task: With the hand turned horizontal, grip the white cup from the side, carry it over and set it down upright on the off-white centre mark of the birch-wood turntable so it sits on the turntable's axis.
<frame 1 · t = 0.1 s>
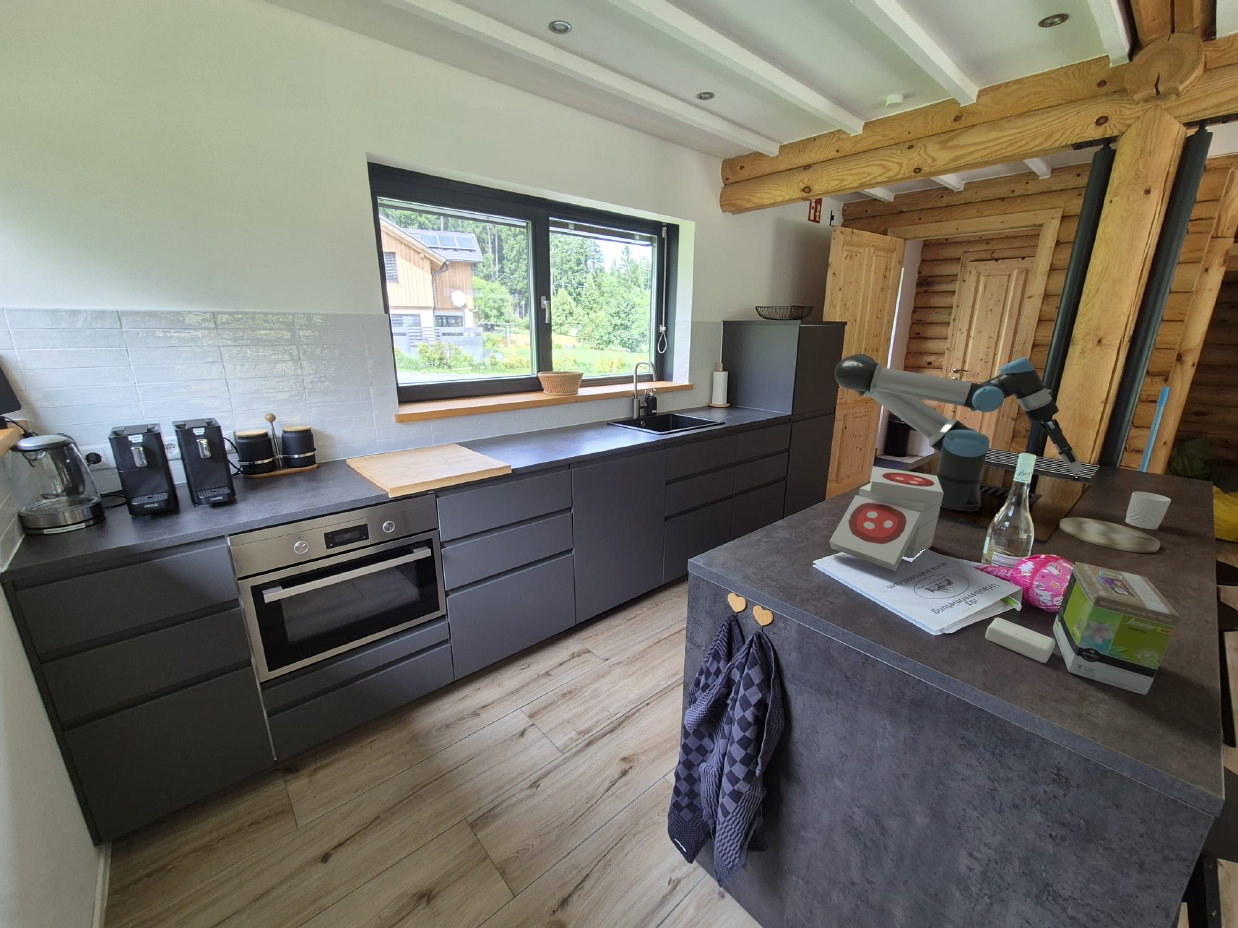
hand: (1074, 466, 152), 15 cm above the countertop, tool tilted 35°, fingers open, 13 cm apart
soap: (1017, 647, 90), on the countertop
white cup: (1139, 528, 147), on the countertop
pizza boxes: (883, 550, 126), on the countertop
tea box: (1094, 661, 87), on the countertop
turntable platter: (1107, 533, 137), point 2 cm above the countertop, hinge at 0.0°
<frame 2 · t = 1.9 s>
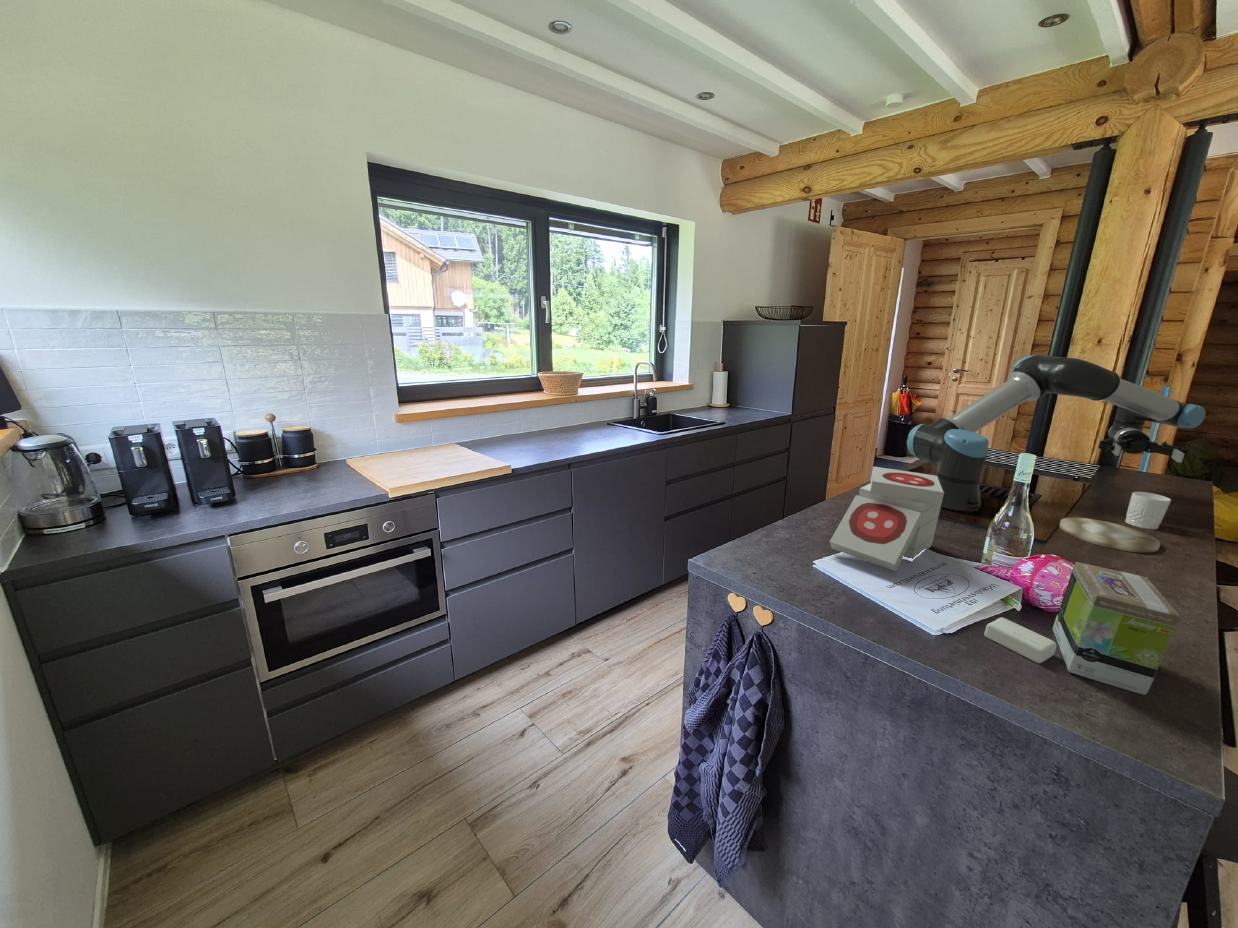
hand: (1148, 454, 151), 20 cm above the countertop, tool horizontal, fingers open, 13 cm apart
nothing on the countertop moved.
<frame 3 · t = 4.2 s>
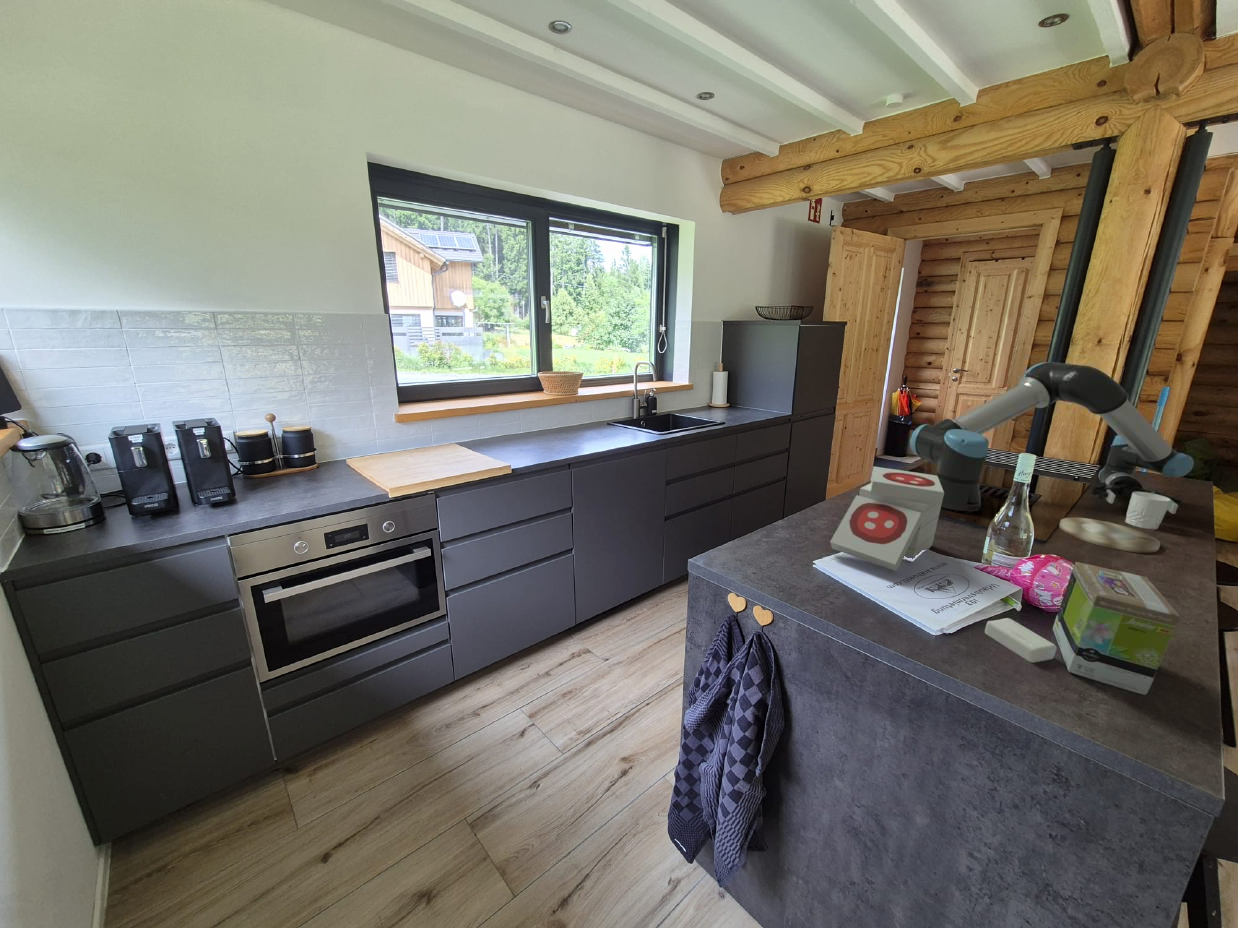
hand: (1142, 504, 150), 6 cm above the countertop, tool horizontal, fingers open, 13 cm apart
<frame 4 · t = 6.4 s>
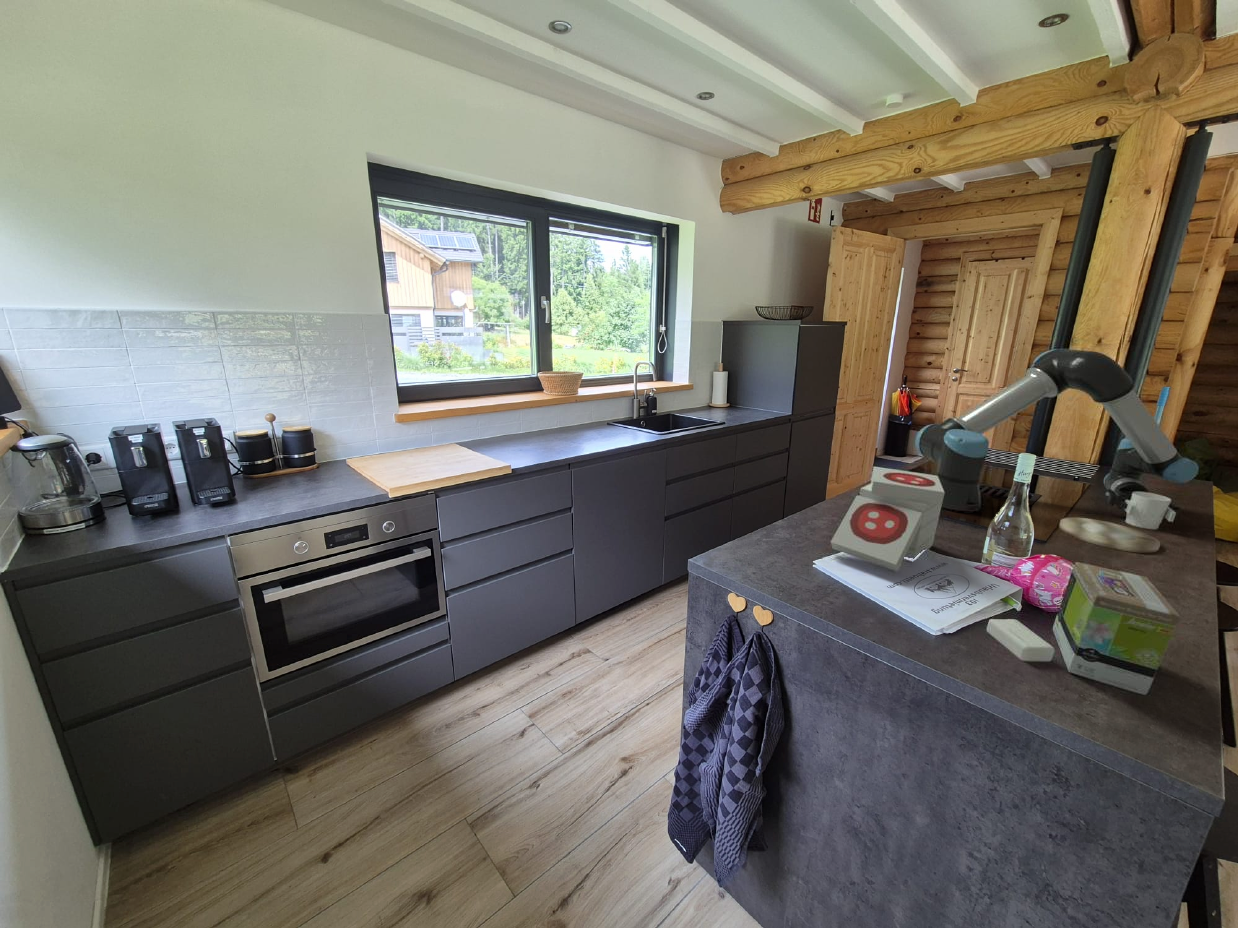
hand: (1152, 513, 141), 6 cm above the countertop, tool horizontal, fingers closed on white cup, 8 cm apart
white cup: (1139, 528, 147), on the countertop, touching gripper
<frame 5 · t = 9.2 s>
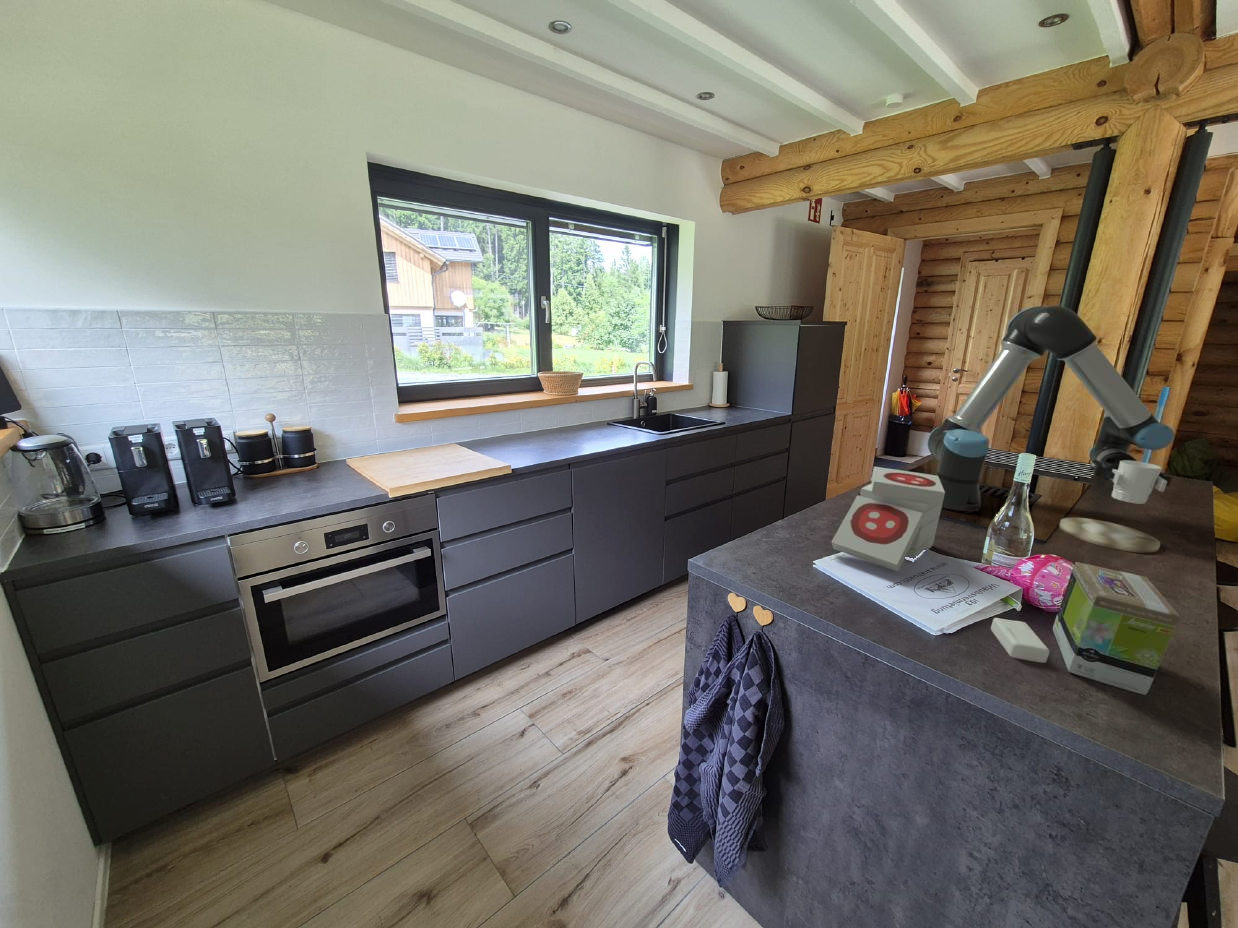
hand: (1141, 483, 129), 18 cm above the countertop, tool horizontal, fingers closed on white cup, 8 cm apart
white cup: (1127, 500, 135), point 11 cm above the countertop, touching gripper
when the fingers open (10 cm above the countertop, at t = 12.1 s): white cup drops 1 cm, resting on turntable platter.
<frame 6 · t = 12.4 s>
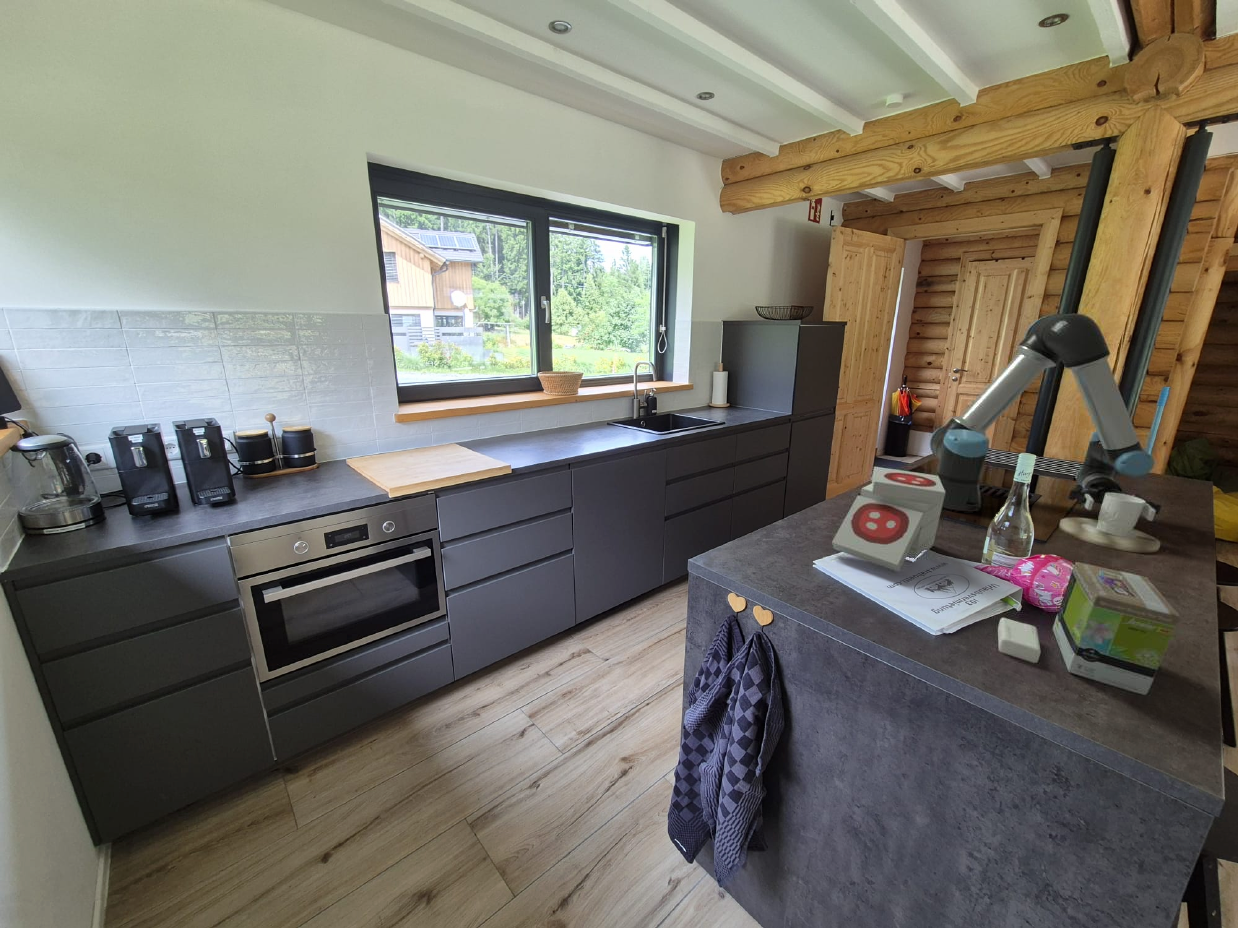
hand: (1120, 510, 131), 10 cm above the countertop, tool horizontal, fingers open, 11 cm apart
white cup: (1112, 532, 136), point 2 cm above the countertop, touching turntable platter
turntable platter: (1107, 533, 137), point 2 cm above the countertop, hinge at 0.0°, touching white cup
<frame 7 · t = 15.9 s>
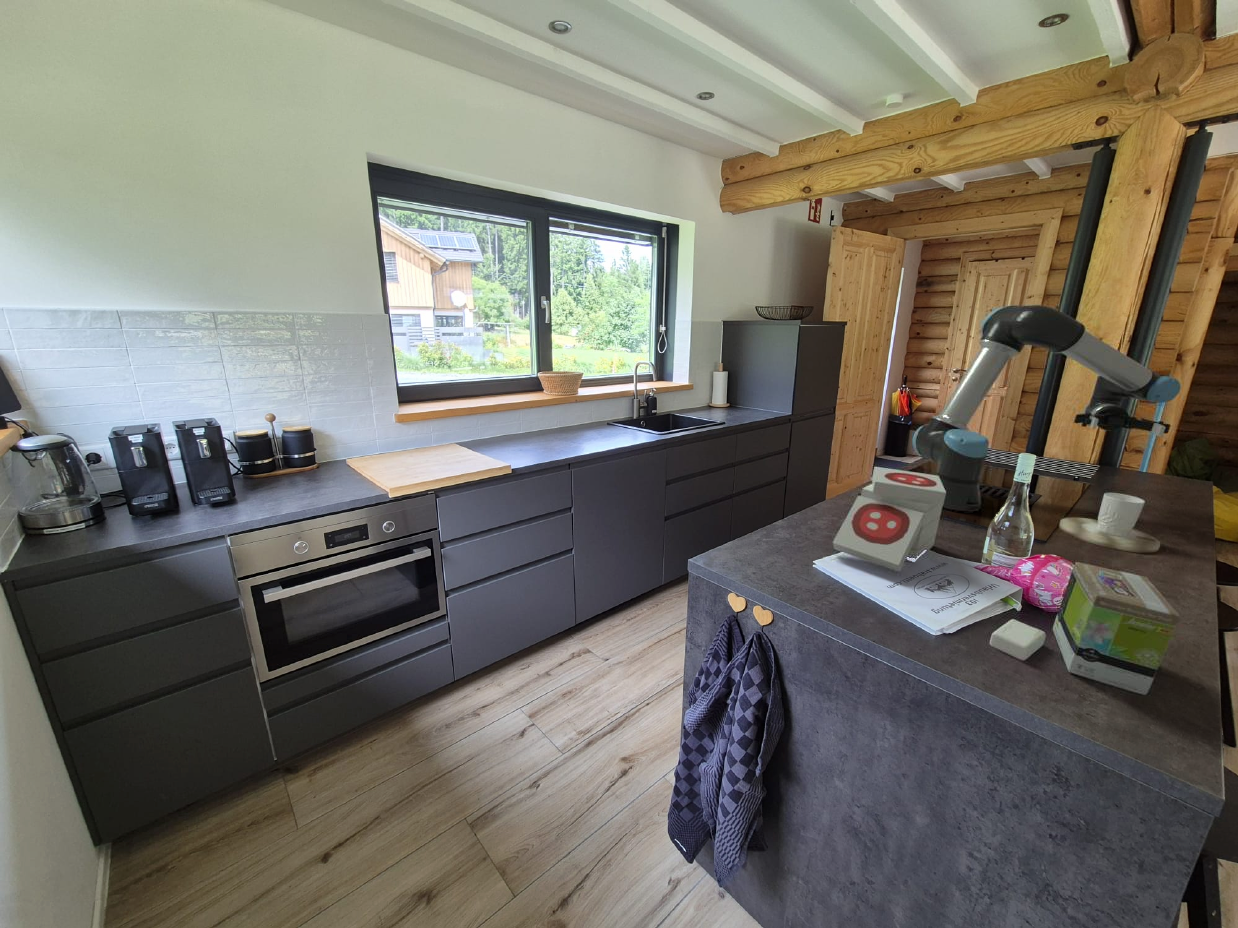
hand: (1127, 427, 139), 30 cm above the countertop, tool horizontal, fingers open, 13 cm apart
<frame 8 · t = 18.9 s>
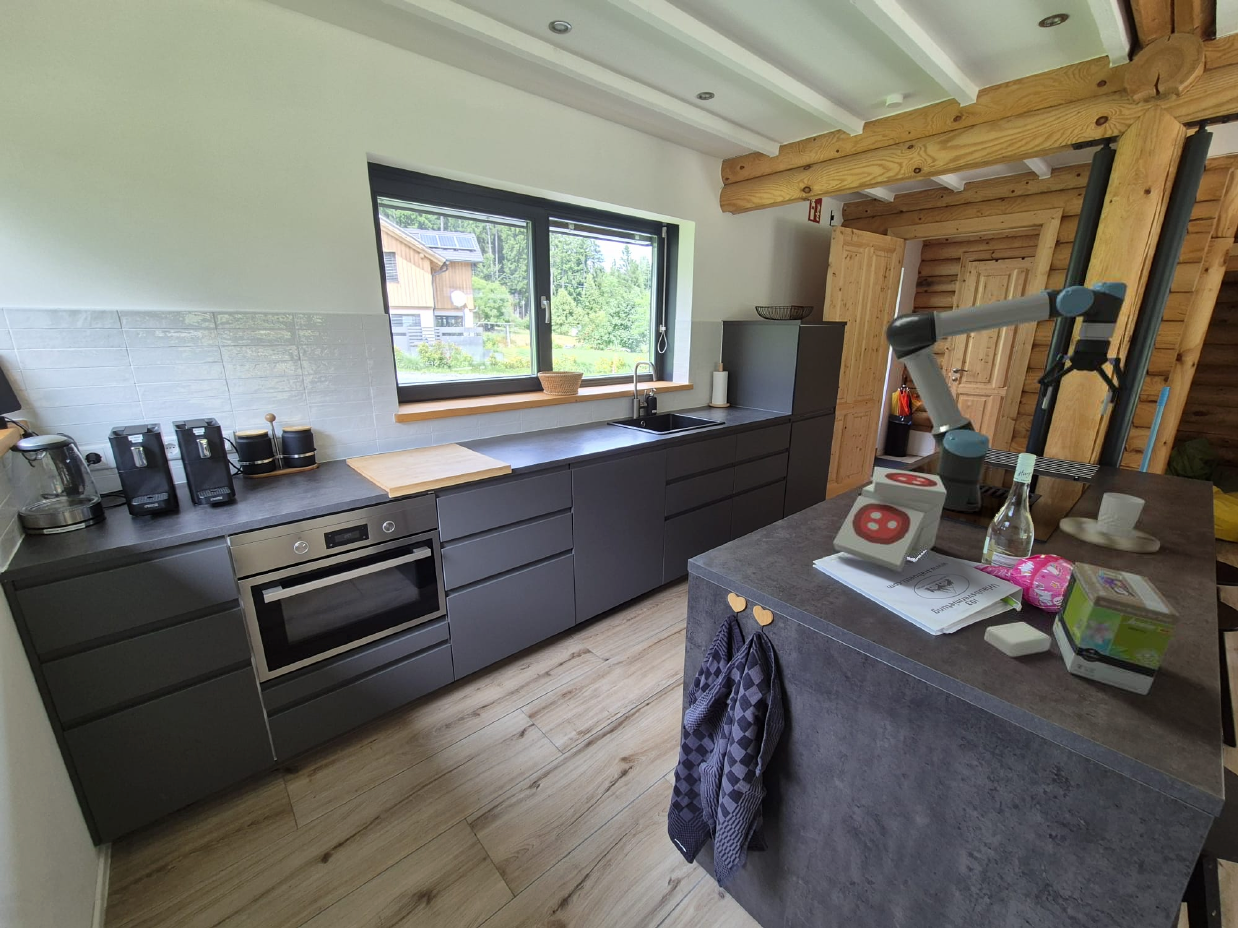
hand: (1072, 411, 151), 32 cm above the countertop, tool pointing down, fingers open, 13 cm apart
at the end: white cup 0.9 cm from the turntable platter (horizontally); white cup tilted 0°; white cup touching turntable platter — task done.
